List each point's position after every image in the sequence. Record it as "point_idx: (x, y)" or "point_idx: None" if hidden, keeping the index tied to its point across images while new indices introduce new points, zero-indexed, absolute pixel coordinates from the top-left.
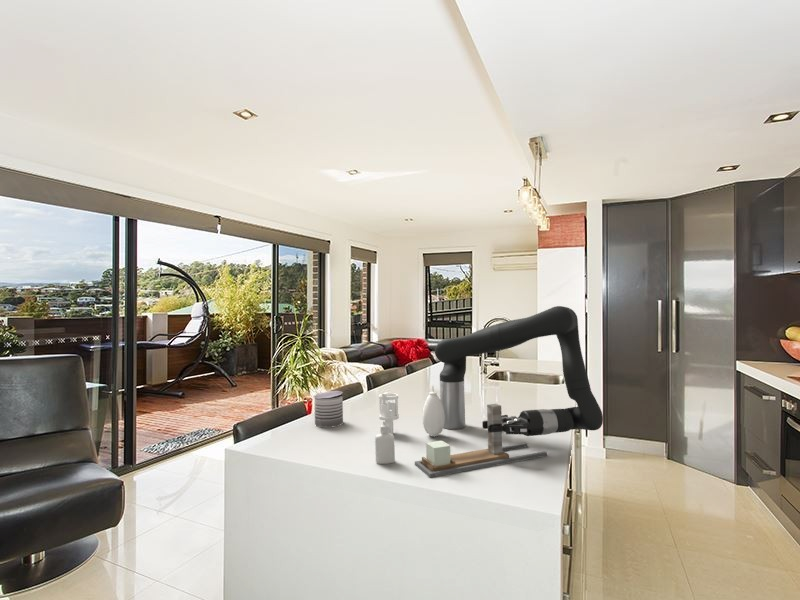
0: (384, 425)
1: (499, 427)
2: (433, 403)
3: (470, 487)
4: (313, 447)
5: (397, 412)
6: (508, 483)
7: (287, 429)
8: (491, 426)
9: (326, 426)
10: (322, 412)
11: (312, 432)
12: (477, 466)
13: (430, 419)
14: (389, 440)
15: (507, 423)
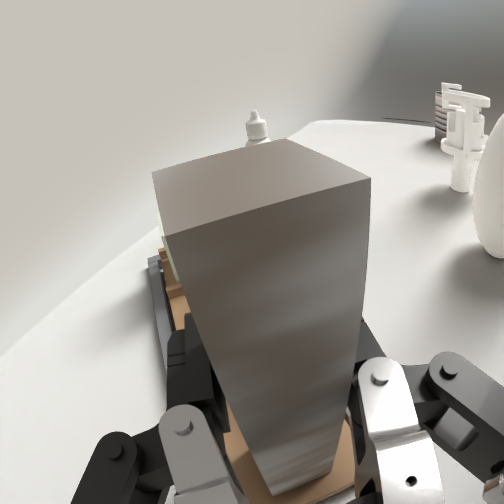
0: (250, 119)
1: (171, 399)
2: (497, 136)
3: (63, 334)
4: (338, 144)
5: (468, 142)
6: (36, 428)
7: (406, 127)
8: (182, 332)
9: (438, 140)
10: (436, 115)
11: (406, 137)
12: (166, 370)
13: (476, 186)
14: None
15: (181, 477)
